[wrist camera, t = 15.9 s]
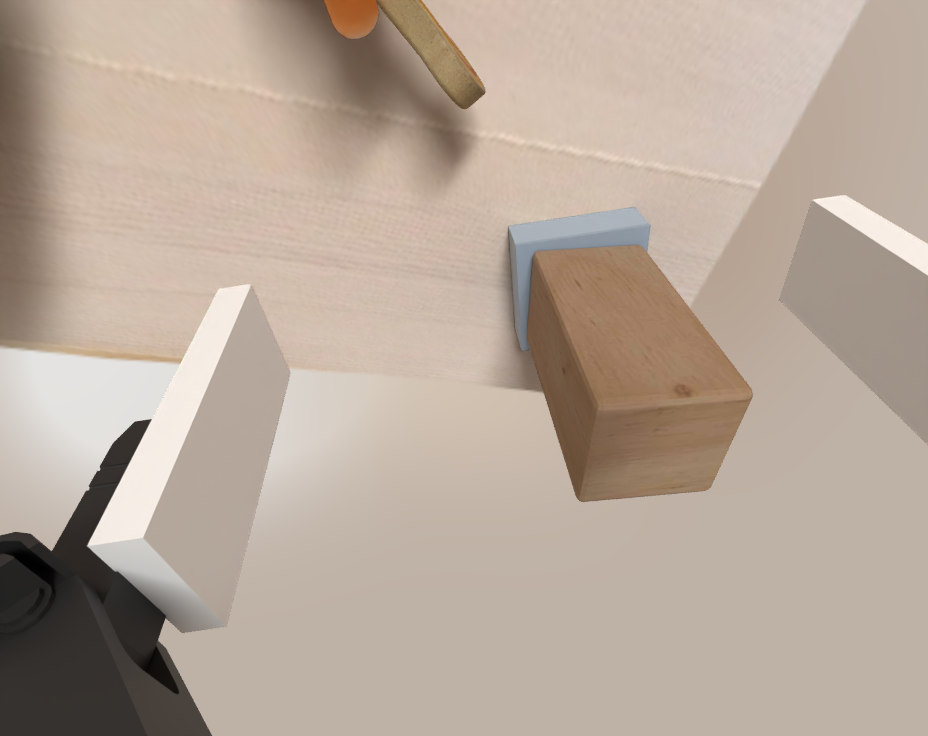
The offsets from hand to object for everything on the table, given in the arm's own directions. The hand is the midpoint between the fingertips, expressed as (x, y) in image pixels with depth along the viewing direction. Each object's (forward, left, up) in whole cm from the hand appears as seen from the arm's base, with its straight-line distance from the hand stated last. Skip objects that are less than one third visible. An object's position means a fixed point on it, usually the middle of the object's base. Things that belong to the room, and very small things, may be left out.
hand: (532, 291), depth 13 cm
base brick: (+10, -21, -35) cm, 42 cm away
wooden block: (+10, -21, -31) cm, 39 cm away
